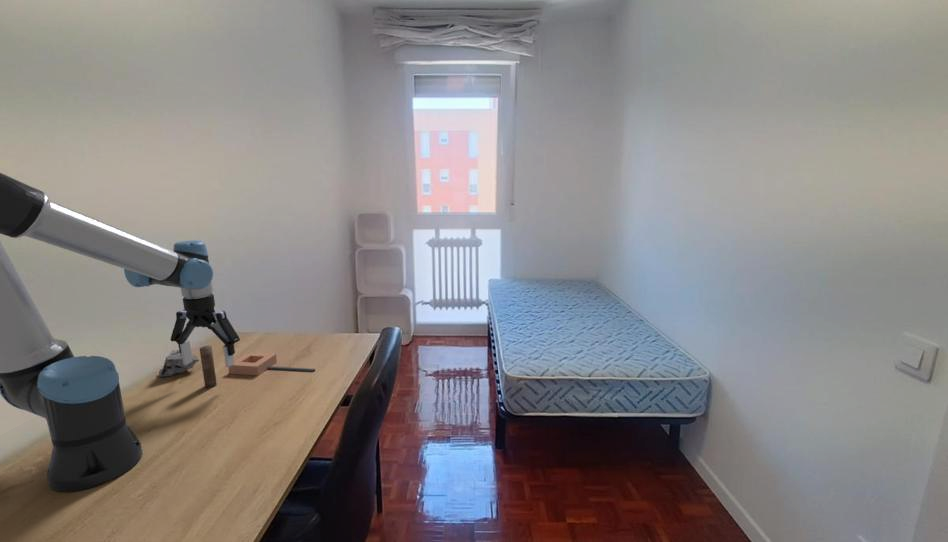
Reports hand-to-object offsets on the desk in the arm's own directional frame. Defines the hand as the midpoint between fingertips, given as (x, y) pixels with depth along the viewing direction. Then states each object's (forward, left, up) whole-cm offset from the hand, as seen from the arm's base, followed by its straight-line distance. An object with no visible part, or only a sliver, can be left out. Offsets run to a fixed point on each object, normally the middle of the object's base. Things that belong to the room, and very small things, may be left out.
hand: (209, 364), depth 126 cm
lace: (+13, -18, -7) cm, 23 cm away
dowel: (0, 0, -7) cm, 7 cm away
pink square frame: (+13, -5, -7) cm, 15 cm away
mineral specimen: (+7, +16, -7) cm, 19 cm away
